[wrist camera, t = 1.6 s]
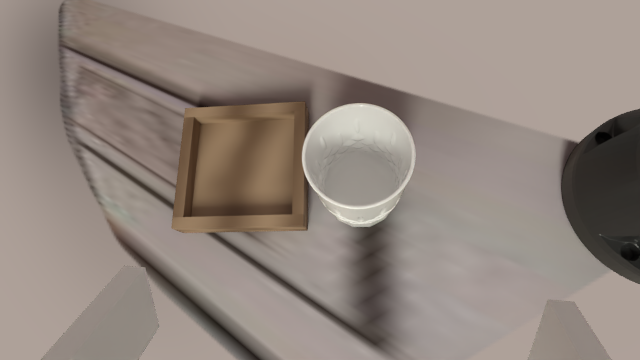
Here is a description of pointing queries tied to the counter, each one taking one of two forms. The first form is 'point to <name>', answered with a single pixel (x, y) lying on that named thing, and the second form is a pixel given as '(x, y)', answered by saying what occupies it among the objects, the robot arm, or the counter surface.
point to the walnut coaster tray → (242, 169)
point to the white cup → (359, 162)
